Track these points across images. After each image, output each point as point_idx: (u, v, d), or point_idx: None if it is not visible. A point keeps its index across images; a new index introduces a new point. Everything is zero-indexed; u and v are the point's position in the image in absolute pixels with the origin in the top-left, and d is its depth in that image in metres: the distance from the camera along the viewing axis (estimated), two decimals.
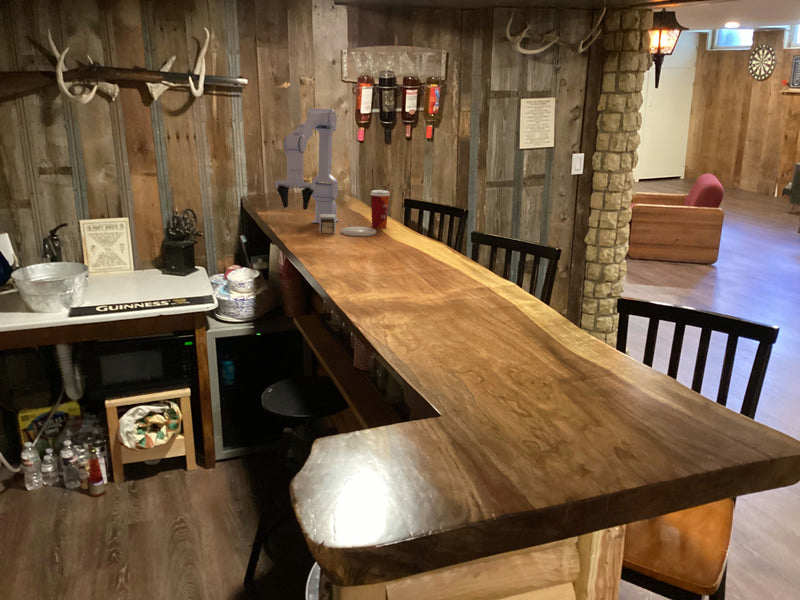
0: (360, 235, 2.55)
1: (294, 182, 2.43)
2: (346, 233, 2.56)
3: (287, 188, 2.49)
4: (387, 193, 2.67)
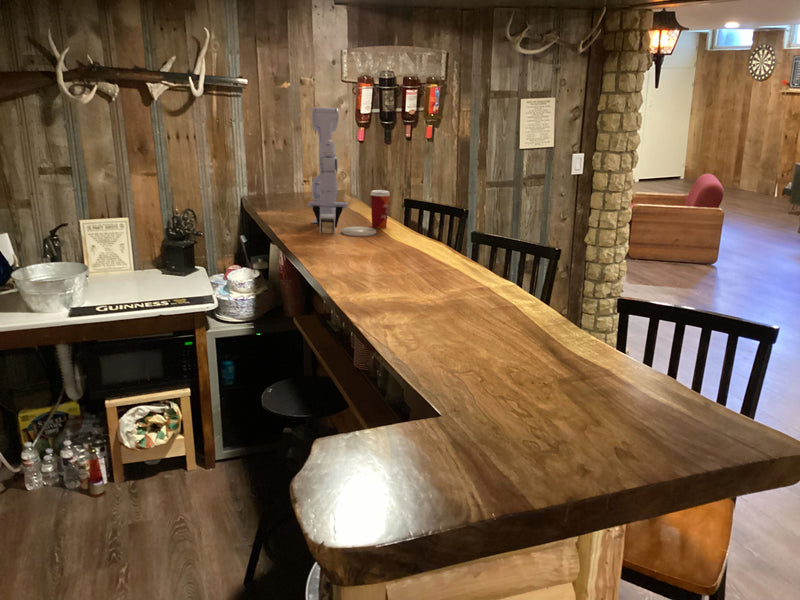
0: (360, 235, 2.55)
1: (330, 202, 2.54)
2: (346, 233, 2.56)
3: (319, 208, 2.59)
4: (387, 193, 2.67)
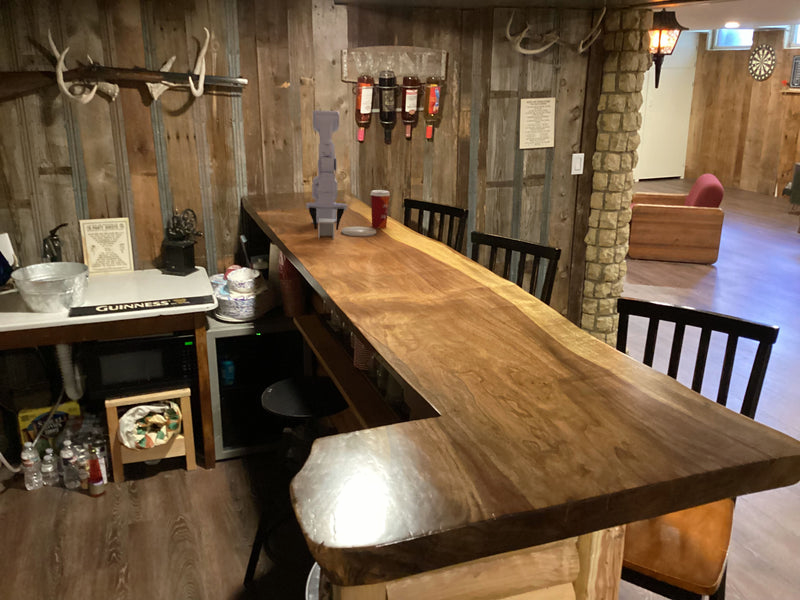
0: (360, 235, 2.55)
1: (328, 204, 2.45)
2: (346, 233, 2.56)
3: (316, 210, 2.50)
4: (387, 193, 2.67)
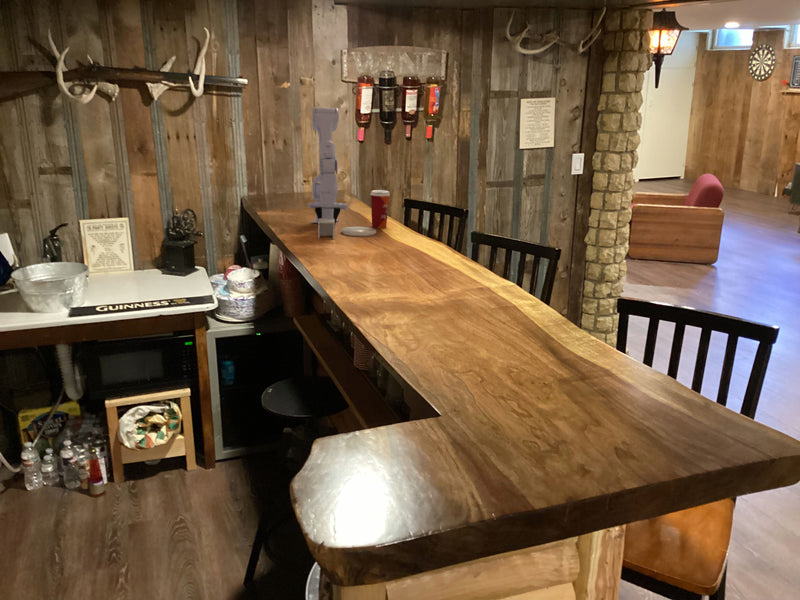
0: (360, 235, 2.55)
1: (329, 203, 2.54)
2: (346, 233, 2.56)
3: None
4: (387, 193, 2.67)
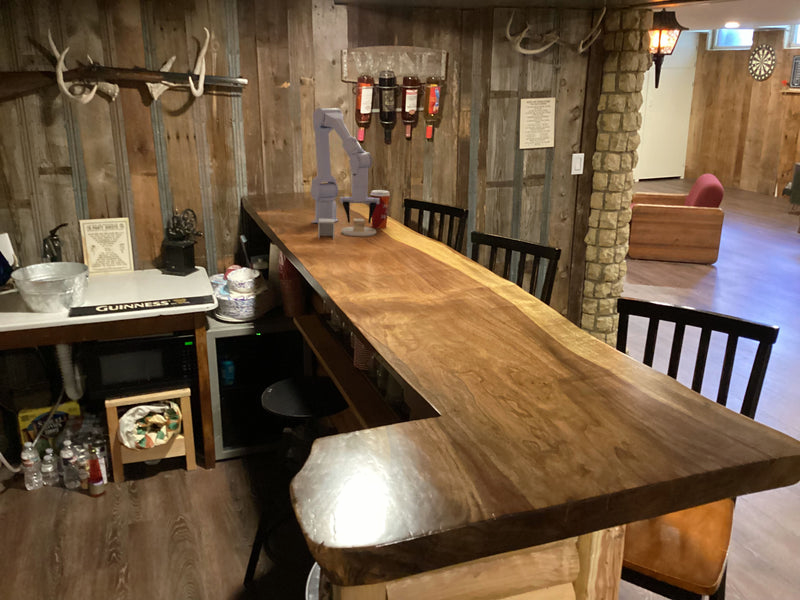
0: (360, 235, 2.55)
1: (362, 198, 2.54)
2: (346, 233, 2.56)
3: None
4: (387, 193, 2.67)
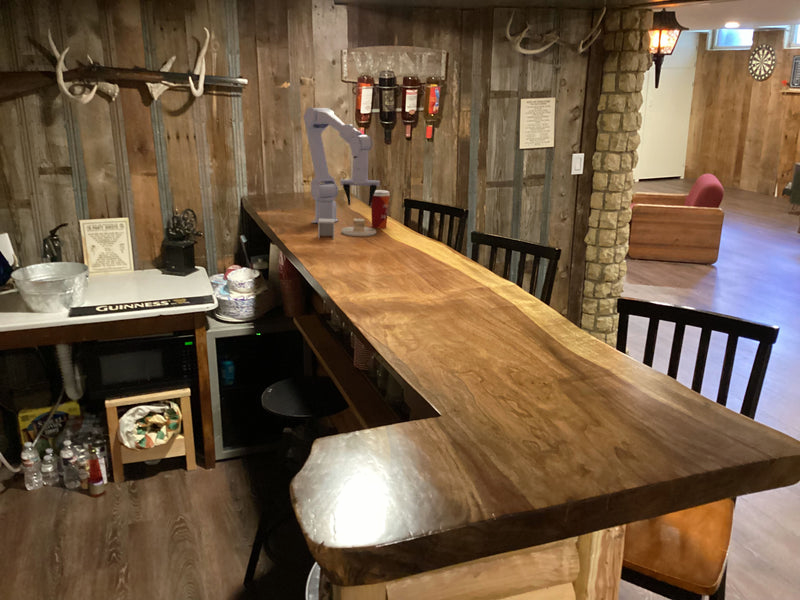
0: (360, 235, 2.55)
1: (362, 180, 2.56)
2: (346, 233, 2.56)
3: None
4: (387, 193, 2.67)
